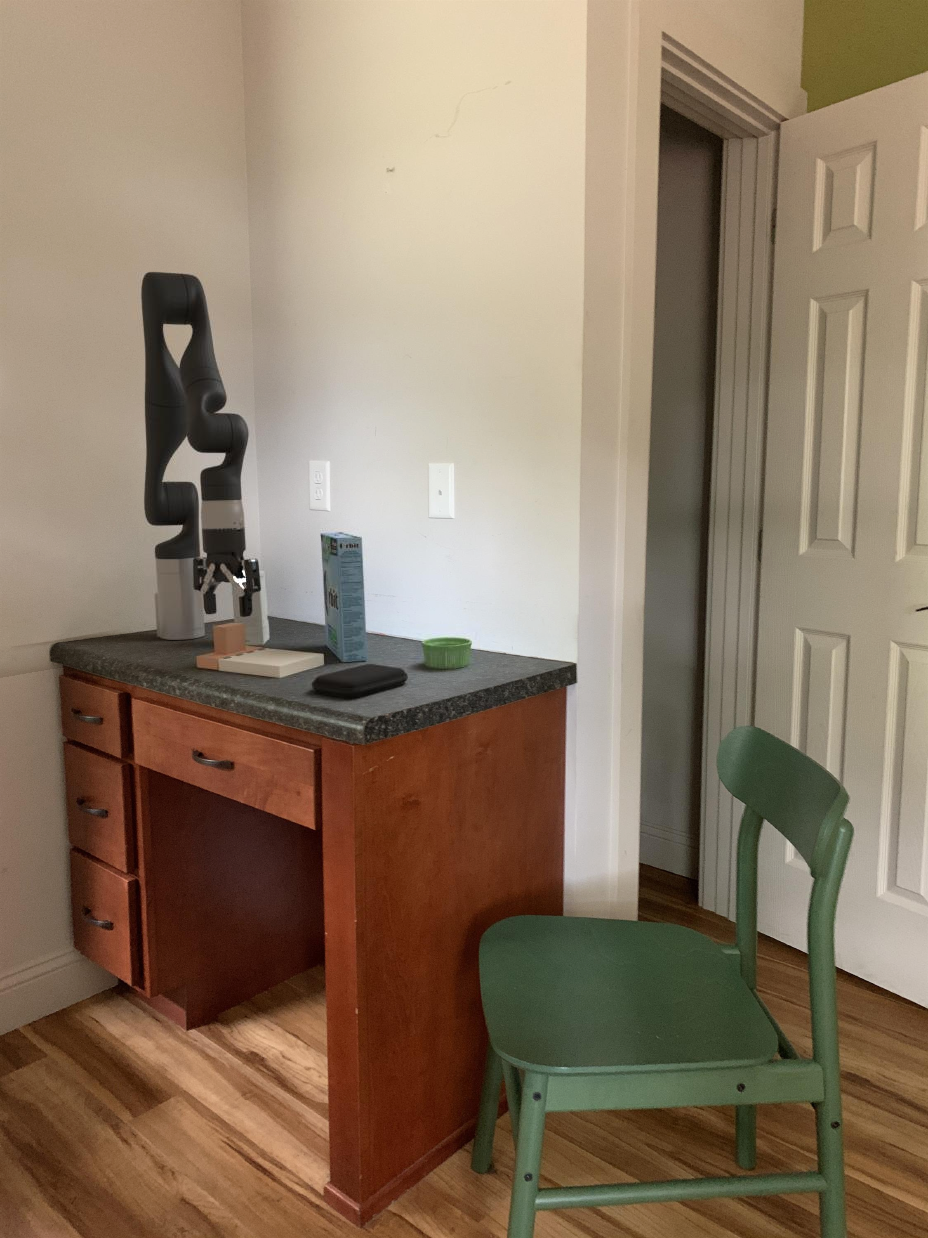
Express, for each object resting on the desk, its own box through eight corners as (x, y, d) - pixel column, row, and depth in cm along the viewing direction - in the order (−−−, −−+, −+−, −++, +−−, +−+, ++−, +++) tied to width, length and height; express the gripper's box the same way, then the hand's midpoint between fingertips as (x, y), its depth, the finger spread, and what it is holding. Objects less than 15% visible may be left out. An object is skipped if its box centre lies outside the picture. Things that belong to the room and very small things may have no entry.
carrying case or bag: (365, 677, 155) (301, 694, 143) (364, 660, 154) (300, 675, 143) (413, 685, 148) (350, 703, 137) (412, 667, 148) (349, 683, 136)
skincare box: (264, 646, 184) (260, 573, 182) (234, 646, 183) (230, 573, 181) (269, 639, 192) (266, 569, 190) (241, 639, 192) (237, 569, 189)
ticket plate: (218, 670, 160) (218, 658, 160) (264, 658, 171) (264, 647, 170) (279, 677, 154) (279, 665, 153) (323, 664, 164) (323, 653, 164)
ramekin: (480, 662, 165) (480, 639, 164) (456, 672, 157) (456, 647, 156) (438, 658, 169) (437, 635, 168) (412, 667, 161) (412, 643, 160)
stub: (197, 667, 163) (194, 628, 162) (243, 655, 173) (241, 619, 172) (217, 669, 160) (215, 630, 159) (263, 657, 171) (261, 621, 170)
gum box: (367, 661, 167) (363, 536, 163) (340, 663, 165) (335, 537, 162) (348, 643, 185) (345, 531, 182) (324, 645, 184) (319, 532, 180)
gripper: (179, 526, 163) (184, 616, 165) (238, 526, 156) (243, 619, 158) (209, 525, 170) (214, 611, 172) (267, 525, 163) (272, 614, 165)
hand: (228, 615), depth 165 cm, fingers open, 8 cm apart
